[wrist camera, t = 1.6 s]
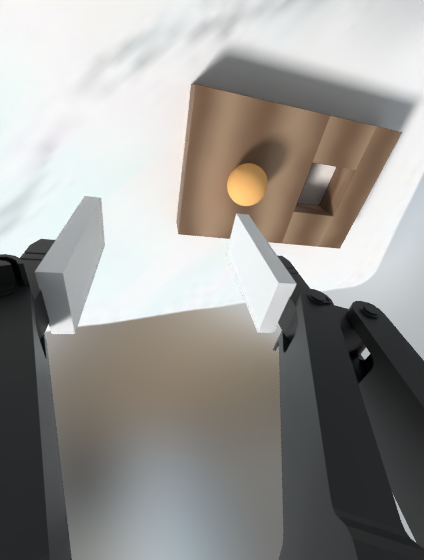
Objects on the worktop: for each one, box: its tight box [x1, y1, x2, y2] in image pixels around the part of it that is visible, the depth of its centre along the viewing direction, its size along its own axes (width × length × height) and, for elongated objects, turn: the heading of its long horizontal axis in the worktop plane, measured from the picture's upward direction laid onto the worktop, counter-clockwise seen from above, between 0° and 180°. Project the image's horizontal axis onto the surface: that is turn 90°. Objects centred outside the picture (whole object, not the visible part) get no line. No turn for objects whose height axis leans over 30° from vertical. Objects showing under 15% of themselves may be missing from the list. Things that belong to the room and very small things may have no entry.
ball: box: [227, 163, 268, 206], centre depth 25 cm, size 4×4×4 cm
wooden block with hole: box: [177, 84, 402, 248], centre depth 29 cm, size 22×14×4 cm, turn 79°
